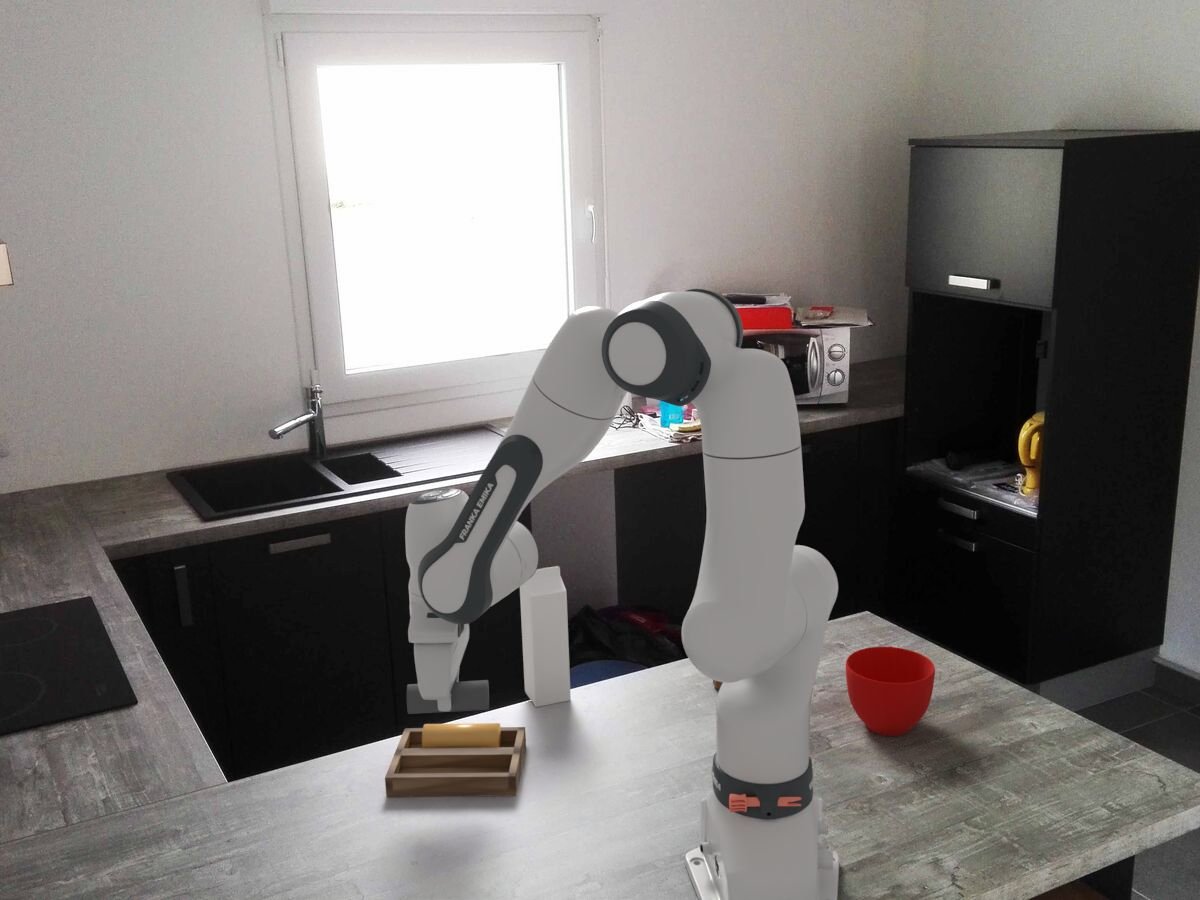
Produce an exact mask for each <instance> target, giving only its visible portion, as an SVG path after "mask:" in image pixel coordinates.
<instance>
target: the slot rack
mask: <svg viewBox="0 0 1200 900" xmlns="http://www.w3.org/2000/svg"><path fill="white" fill-rule="evenodd" d="M422 731H423V727H414V728H413V727H411V728H410V727H409V728H407V727H405V728H404V730H403V732H402V735H401V737H400V740H399V742H398V744H397V747H396V749H395V752H394V754H393V757H392V759H391V762H390V763H389V766H388V769H387V772H386V773H385V777H384V782H385V784H384V785H385V794H386V798H425V797H426V798H432V797H433V798H434V797H435V798H438V797H439V798H440V797H442V798H443V797H448V798H449V797H516V796H517V795H518V794H517V793H518V790H519V784H520V779H521V778H520V777H521V773H522V767H523V763H524V759H525V752H526V747H527V746H526V745H527V742H526V741H527V739H526V737H527V735H526V727H525V726H519V727H518V726H510V727H509V726H505V727H503V726H502V727H501V747H492V748H422Z"/></svg>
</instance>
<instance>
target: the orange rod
mask: <svg viewBox="0 0 1200 900" xmlns="http://www.w3.org/2000/svg"><path fill="white" fill-rule="evenodd" d="M422 728H423V731H422V748H492V747H501V723H500V722H498V723H495V722H494V723H492V722H491V723H479V722H478V723H425V724H423V727H422Z"/></svg>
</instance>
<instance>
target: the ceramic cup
mask: <svg viewBox="0 0 1200 900" xmlns="http://www.w3.org/2000/svg"><path fill="white" fill-rule="evenodd" d="M935 675H936V668H935V665H934V663H933V662H932V660H931V659H929V658H928V657H927V656H925V655H923V654H921V653H920V652H917V651H913V650H910V649H907V648H903V647H894V646H891V645H889V646H872V647H866V648H862V649H859V650H855V651H854V652H852V653H851V654H849V655H848V657H847V658H846V661H845V681H846V688H847V689H846V690H847V694H848V699H849V702H850V705H851V707H852V708H853V710H854V713H855V714H856V715H857V717H858V718H859V719H860V721H861V722H862V723H864V724H865V726H866V728H868V730H870V731H871V732H873V733H876V734H879V735H883V736H891V737H892V736H902V735H904V734H907V733H908V732H910V731H911V729H912V728H914V726H916V725H917V724H918V723H919V722H920V721H921V720H922V718H923V717H924V715H925V713H926V712H927V710H928V708H929V706H930V702H931V700H932V695H933V690H934V689H933V688H934V683H935Z"/></svg>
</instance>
